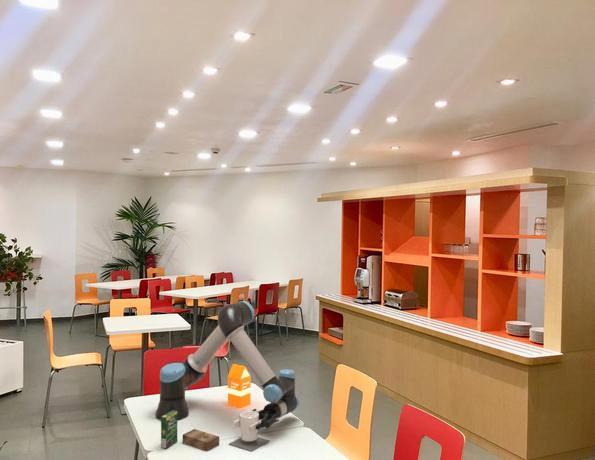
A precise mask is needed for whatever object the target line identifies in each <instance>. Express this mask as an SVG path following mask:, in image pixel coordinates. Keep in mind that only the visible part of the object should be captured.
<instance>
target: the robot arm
mask: <svg viewBox="0 0 595 460" xmlns="http://www.w3.org/2000/svg"><path fill="white" fill-rule="evenodd" d="M254 318H255V310H254V307H253V305H251V304H250V303H249V302H248V301H244V300H240V301H236V302H234V303H229V304H226V305H224V306H222V307H221V308H220V309H219V311H218V314H217V326H216V328H214V330H213V331H212V332H211V333H210V334H209V336H208V337H207V338H206V339H205V341H204V342H203V343H202V344H201V345H200V346H199V348H197V350H196V351H195V352H194V353H191V354H190V353H189V355H188V356H187V357H186V358H185V359H184V360H183V362H174V363H173V362H172V363H169V364H168V363H167V364H165V365H164V366H162V368H160V371H159V372H160V373H159V401H158V404H157V405H158V406H157V409H156V410H155V417H157V418H158V419H157V418H156V419H157V420H159V419H160V420H159V421H161V417H162V416H164V415H165V414H167V413H169V412H170V411H172V410H174V411H177V421H178V420H179V421H180V420H182V419H185V418H187V417H189V406H188V403H187V399H186V389H187V388H189V387H190V386H193V385H195V384H197V383H199V382H200V381H202V379H203V378H204V377H205V375H206V372H207V370H208V365H209V364H210V363H211V361H212V360H213V359H214V358H215V357H216V355H218V354H219V352H220V351H221V350H222V349H223V347H224V346H225V345H226V344H227V343H228V342H229V341H230V342H231V343H232V345H233V347H234V348H235V350H236V351H237V353H238V354H239V355H240V357H241V358H242V359H243V361H244V362H245V364H246V366H247V367H248V368H249V370H250V371H251V373H252V374H253V376H254V378H255V379H256V380H257V381H258V384H260V386H261V387H262V389H263V392H262V394H263V397H264V398H263V399H264V400H265V401H267V402H269V403H268V404H265V406H264V407H263V409H260V410H259V411H258V410H257V408H253V409H252V410H251V411H255V412H258V413H259V421H258V422H257V423H254V424H253V425H251V426H249V433H252V432H254V431H256V430H258V431H259V430H260V429H267V430H268V429H269V428H270V427H272V425H275V424H276V423H279V422H280V418H282V417H284V416H286V415H288V414H290V413H292V412H294V411H295V410H296V409H297V408H298V407H299V405H300V399H299V396H297V395H296V373H295V371H294V370H293V369H287V368H286V369H280V370H279V371H278V375H277V376H278V377H277V376H276V375H275V372H274V371H273V370H272V369H271V367H270V366H269V364H268V363H267V362H266V360H265V359H264V357H263V356H262V354H261V353H260V351H259V350H258V349H257V347H256V346H255V344H254V342H253V341H252V340H251V338H250V337H249V335H248V334H247V332H246V331H245V327H246V326H247V325H250V324H251V323H252V322H253V320H254ZM232 428H233V429H234V430H236V429H237V428H240V418H238V419H236V420H234V421H233V427H232Z"/></svg>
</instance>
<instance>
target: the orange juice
mask: <svg viewBox="0 0 595 460" xmlns="http://www.w3.org/2000/svg"><path fill="white" fill-rule="evenodd" d="M246 366H247V365H246ZM246 366H245V365H241V364H240V365H239V364H236V363H232V366H231V368H230V370H229V373H228V375H227V405H228V406H231V407H234V408H238V409H243V408H245V407H248V406H250V405H252V404H251V403H252V401H251V396H252V394H251V393H252V389H251V388H252V387H251V386H252V385H251V383H252V382H251V380H252V377H251V374H250V373H249V371H248V368H247V367H246Z"/></svg>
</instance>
